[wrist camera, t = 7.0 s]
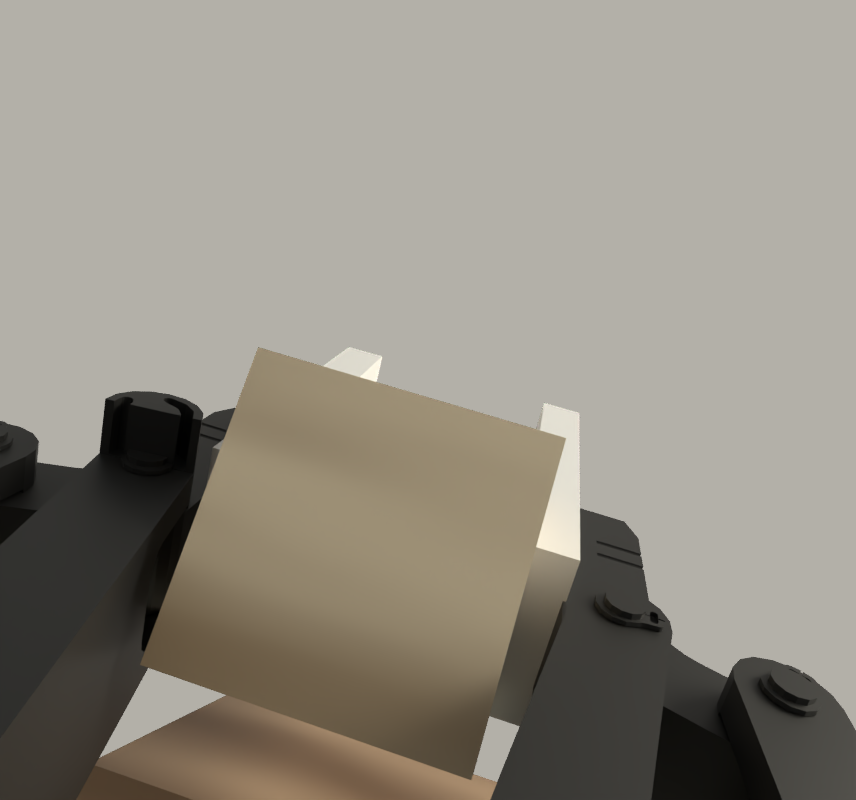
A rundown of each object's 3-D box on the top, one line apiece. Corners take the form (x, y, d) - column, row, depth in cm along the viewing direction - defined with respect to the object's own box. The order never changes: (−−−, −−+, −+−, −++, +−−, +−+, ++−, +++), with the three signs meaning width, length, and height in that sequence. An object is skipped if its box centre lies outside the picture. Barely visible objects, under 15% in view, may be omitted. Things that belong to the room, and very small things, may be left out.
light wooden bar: (510, 792, 8) (601, 449, 8) (105, 652, 8) (225, 337, 9) (474, 632, 28) (501, 536, 28) (360, 595, 28) (390, 502, 29)
